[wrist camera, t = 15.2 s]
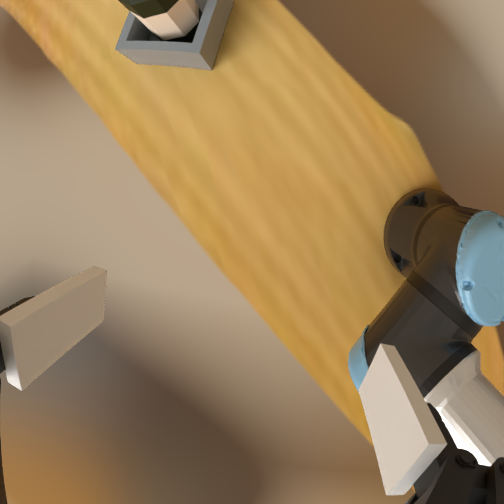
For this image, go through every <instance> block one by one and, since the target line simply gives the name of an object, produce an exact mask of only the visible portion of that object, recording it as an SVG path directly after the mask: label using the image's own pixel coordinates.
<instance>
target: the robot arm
mask: <svg viewBox="0 0 504 504" xmlns="http://www.w3.org/2000/svg"><path fill="white" fill-rule="evenodd" d="M384 246H385V250H386V254H387V256H388V258H389V260H390V262H391V264H392V265H393V266H394V268H395V269H396V270H397V271H398V272H400V273H401V274H402V275H403V276H404V277H406V278H407V279H406V280H405V281H404V283H403V284H402V285H401V287H400V288H399V289H398V291H397V292H396V293H395V294H394V296H393V297H392V298H391V299H390V301H389V302H388V303H387V304H386V306H385V307H384V308H383V309H382V311H381V312H380V313H379V314H378V315H377V317H376V318H375V319H374V320H373V321H372V323H371V324H370V325H368V326H367V327H366V328H365V329H364V331H363V333H362V335H361V337H360V338H359V339H358V340H357V342H356V343H355V344H354V345H353V347H352V348H351V350H350V352H349V359H348V367H349V372H350V375H351V378H352V381H353V383H354V385H355V387H356V388H357V390H358V392H359V394H360V397H361V401H362V404H363V408H364V411H365V415H366V418H367V422H368V426H369V429H370V433H371V437H372V440H373V444H374V448H375V452H376V456H377V460H378V463H379V468H380V471H381V475H382V480H383V484H384V488H385V492H386V495H404V494H405V493H406V492H407V491H408V490H409V489H410V488H411V487H412V486H413V485H414V488H415V492H416V493H415V494H414V495H413V496H412V497H411V498H410V499H409V500H408V501H407V502H406V503H405V504H504V396H503V395H502V394H501V393H500V392H499V391H498V390H497V389H496V388H495V387H494V386H493V385H492V383H491V382H490V381H489V380H488V379H487V378H486V377H485V376H484V375H483V374H482V372H481V370H480V357H481V354H480V352H479V351H478V350H477V349H476V348H475V347H474V346H473V345H472V344H471V341H472V340H473V338H474V337H475V336H476V335H477V334H478V332H479V331H480V330H481V328H482V327H483V326H497V325H499V324H500V322H501V321H504V217H503V216H500V215H498V214H497V213H495V212H492V211H487V210H485V211H482V210H477V209H472V208H467V207H462V206H459V205H458V203H457V202H456V201H455V200H453V199H452V198H451V197H450V196H448V195H447V194H445V193H443V192H440V191H437V190H430V189H420V190H415V191H412V192H410V193H408V194H406V195H405V196H403V197H402V198H401V199H400V200H399V201H398V202H397V203H396V204H395V205H394V207H393V208H392V210H391V211H390V213H389V215H388V218H387V221H386V224H385V229H384ZM106 276H107V270H105V269H102V268H99V267H96V266H93V267H91V268H89V269H87V270H85V271H83V272H81V273H79V274H77V275H75V276H73V277H72V278H69V279H68V280H65V281H64V282H62V283H60V284H58V285H56V286H54V287H52V288H51V289H48V290H46V291H45V292H43V293H41V294H39V295H37V296H32V297H28V298H24V299H22V300H20V301H18V302H16V303H15V304H13V305H11V306H9V308H8V307H7V308H5V309H3V310H1V311H0V373H1V372H3V371H4V370H5V371H6V375H7V380H8V382H9V383H11V384H12V385H13V386H15V387H17V388H18V389H20V390H21V391H22V390H23V389H24V388H26V387H27V386H28V385H29V384H30V383H31V382H32V381H34V380H35V379H36V378H37V377H38V376H39V375H40V374H41V373H43V372H44V371H45V370H46V369H47V368H48V367H49V366H51V365H52V364H53V363H54V362H55V361H57V360H58V359H59V358H60V357H61V356H62V355H63V354H65V353H66V352H67V351H68V350H69V349H70V348H72V347H73V346H74V345H75V344H76V343H78V342H79V341H80V340H81V339H82V338H84V337H85V336H86V335H87V334H88V333H89V332H91V331H92V330H93V329H94V328H95V327H97V326H98V325H99V324H100V323H101V322H103V321H104V304H105V303H104V302H105V287H106ZM0 389H1V379H0ZM0 504H7V498H6V492H5V485H4V477H3V468H2V456H1V440H0Z"/></svg>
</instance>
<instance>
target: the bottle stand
mask: <svg viewBox="0 0 504 504" xmlns="http://www.w3.org/2000/svg"><path fill="white" fill-rule="evenodd" d="M195 1H196V3H197V4H198V6H199V8H200V10H201V12H202V13H203V14H202V16H201V19H200V22H199V25H198V28H197V31H196V34H195V36H194V39H193V42H192V43H184V42H167V41H160V40H159V39H158V38H157V37H156V36H155V35H154V34H153V33H152V32H151V31H150V30H149V29H148V28H147V27H146V26H145V25H144V24H143V23H142V22H141V21H140V20H139V19H138V18H137V17H136V16H135V15H134V14H132V13H131V12H130V11H129V14H128V16H127V19H126V21H125V24H124V26H123V29H122V32H121V34H120V37H119V40H118V43H117V45H116V48H115V50H117V51H118V52H120V53H121V54H123V55H124V56H126V57H127V58H129V59H130V60H132V61H133V62H135V63H136V64H150V65H165V66H177V67H187V68H196V69H205V70H212V69H213V66H214V62H215V59H216V56H217V53H218V49H219V46H220V43H221V40H222V37H223V34H224V30H225V27H226V24H227V21H228V18H229V15H230V12H231V10H232V7H233V4H234V2H233V0H195Z"/></svg>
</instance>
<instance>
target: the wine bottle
mask: <svg viewBox="0 0 504 504" xmlns="http://www.w3.org/2000/svg"><path fill="white" fill-rule="evenodd" d="M118 1H120V2H121V3H122V4H123V5H124V6H125V7H126V8H127V9H128V10H129V11H130V12H131V13H132V14H134V15H135V16H136V17H137V18H138V19H139V20H140V21H141V22H142V23H143V24H144V25H145V26H146V27H147V28H148V29H149V30H150V31H151V32H152V33H153V34H154V35H155V36H156V37H157V38H158V39H159V40H160V41H167V42H184V43H192V42H193V39H194V36H195V34H196V31H197V28H198V25H199V22H200V19H201V16H202V14H203V13H202V12H201V10H200V8H199V6H198V4H197V3H196V1H195V0H118Z"/></svg>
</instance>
